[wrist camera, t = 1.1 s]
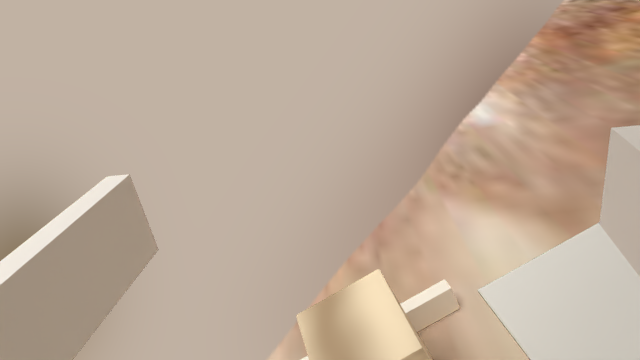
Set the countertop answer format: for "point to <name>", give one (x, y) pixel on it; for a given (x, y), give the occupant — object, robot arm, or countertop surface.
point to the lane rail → (429, 306)
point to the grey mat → (572, 301)
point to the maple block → (361, 325)
